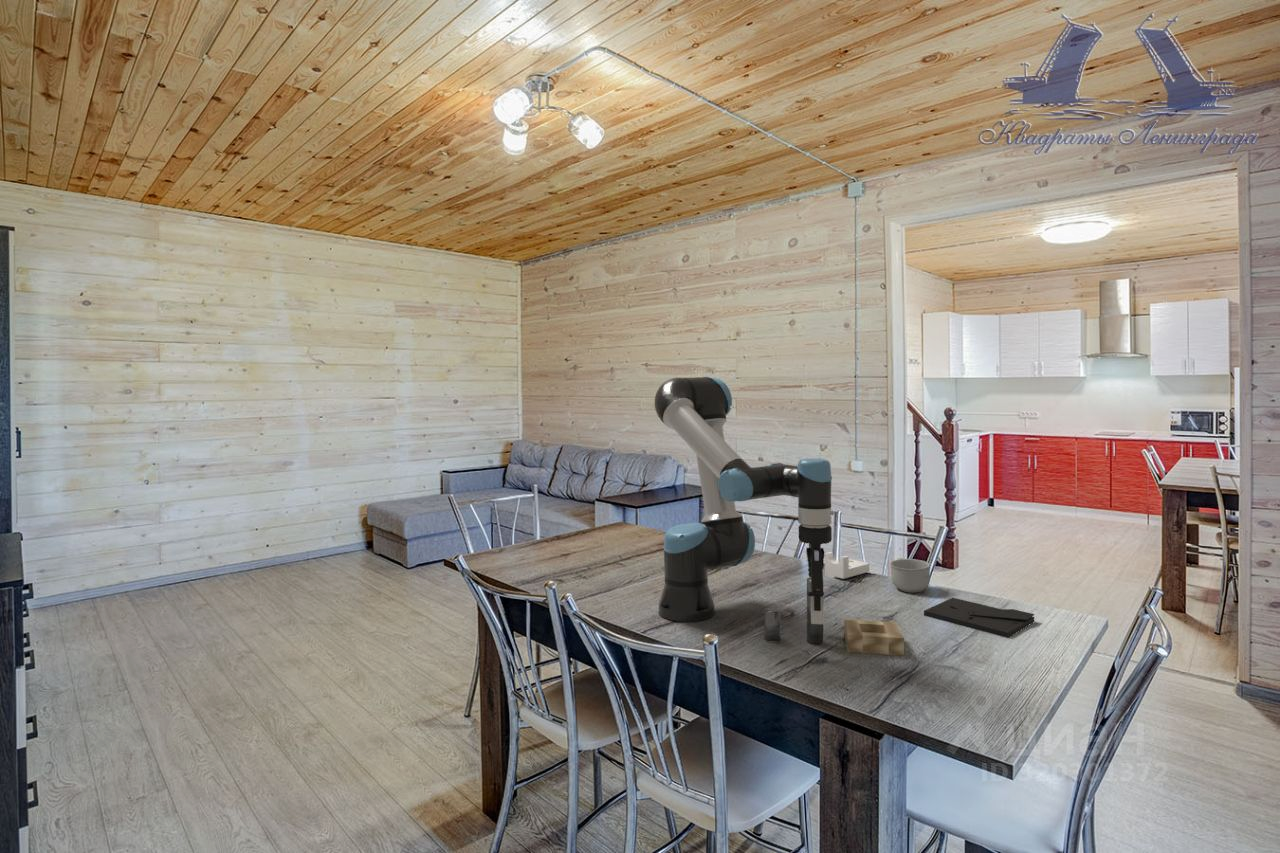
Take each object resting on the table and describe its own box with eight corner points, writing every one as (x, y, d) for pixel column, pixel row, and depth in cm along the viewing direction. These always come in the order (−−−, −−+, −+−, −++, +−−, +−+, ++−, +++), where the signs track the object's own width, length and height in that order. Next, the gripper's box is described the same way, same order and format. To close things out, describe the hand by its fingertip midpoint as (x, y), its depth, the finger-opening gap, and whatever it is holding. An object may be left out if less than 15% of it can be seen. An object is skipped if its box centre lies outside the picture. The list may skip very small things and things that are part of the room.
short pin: (763, 641, 157) (763, 612, 157) (764, 635, 161) (764, 607, 161) (780, 642, 157) (780, 613, 156) (780, 636, 160) (780, 608, 160)
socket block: (847, 651, 150) (847, 634, 150) (843, 635, 160) (844, 619, 160) (903, 655, 148) (903, 638, 148) (896, 638, 158) (896, 622, 157)
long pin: (807, 644, 155) (807, 581, 154) (806, 638, 159) (806, 576, 158) (823, 645, 154) (823, 582, 154) (822, 639, 158) (822, 577, 157)
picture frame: (1034, 625, 167) (952, 604, 183) (1034, 614, 167) (952, 594, 183) (1007, 641, 157) (923, 618, 173) (1008, 629, 157) (923, 607, 173)
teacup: (933, 596, 188) (933, 568, 188) (893, 594, 191) (893, 567, 190) (922, 582, 202) (923, 556, 202) (885, 580, 204) (885, 555, 204)
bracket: (843, 581, 204) (843, 557, 204) (824, 576, 210) (824, 553, 210) (869, 574, 212) (869, 551, 211) (850, 569, 218) (850, 547, 217)
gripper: (835, 536, 142) (836, 633, 143) (828, 515, 166) (828, 598, 167) (799, 535, 144) (800, 631, 145) (797, 514, 168) (798, 596, 169)
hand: (815, 613), depth 156 cm, fingers open, 13 cm apart
